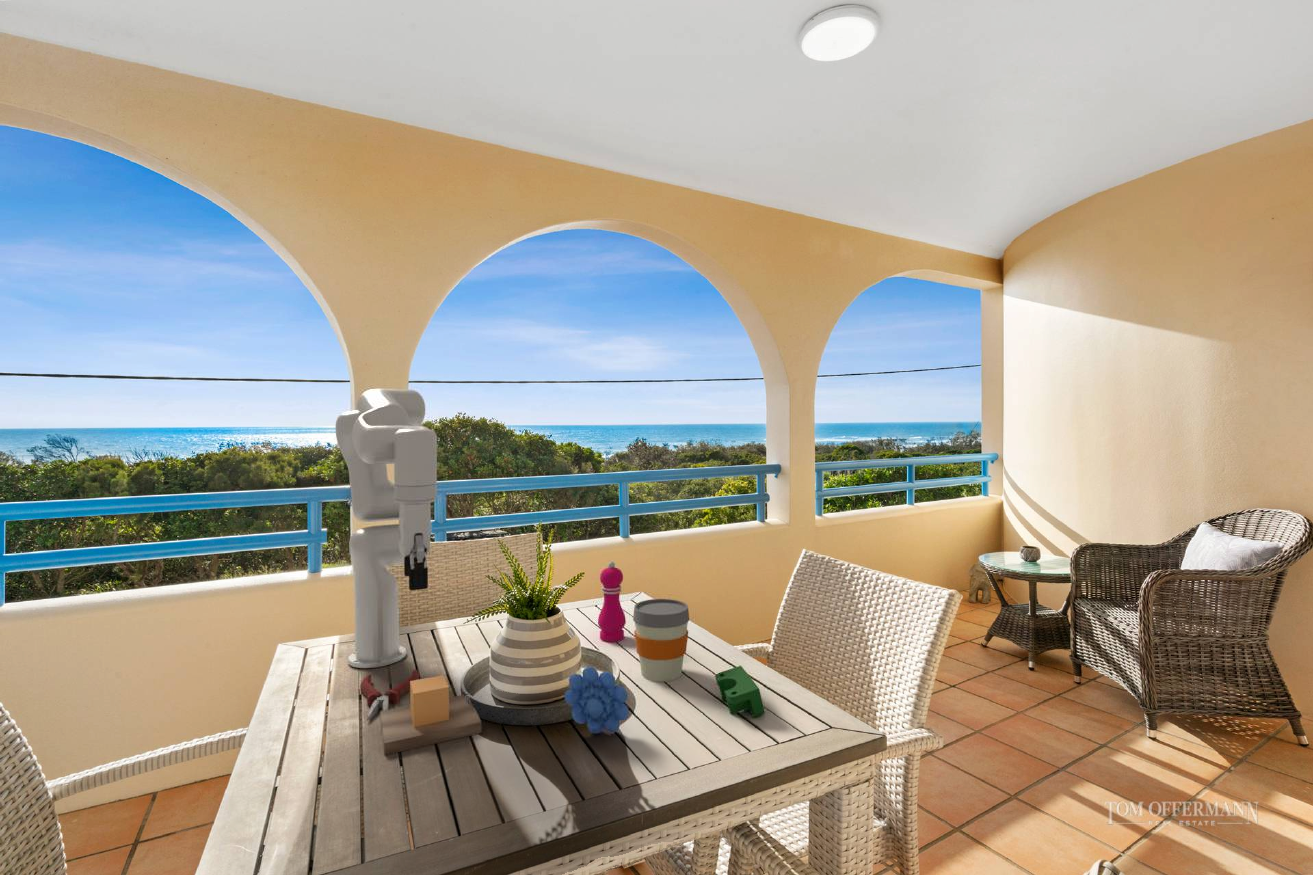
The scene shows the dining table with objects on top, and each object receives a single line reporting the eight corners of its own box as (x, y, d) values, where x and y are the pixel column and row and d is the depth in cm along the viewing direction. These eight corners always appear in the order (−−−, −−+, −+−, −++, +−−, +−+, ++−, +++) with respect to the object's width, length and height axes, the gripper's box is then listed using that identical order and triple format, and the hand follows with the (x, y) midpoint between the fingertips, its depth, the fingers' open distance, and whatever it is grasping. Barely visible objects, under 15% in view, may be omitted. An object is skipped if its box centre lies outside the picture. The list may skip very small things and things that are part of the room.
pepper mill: (601, 632, 163) (601, 558, 163) (628, 633, 162) (627, 558, 162) (595, 642, 156) (594, 564, 156) (622, 643, 155) (622, 564, 155)
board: (380, 721, 115) (380, 687, 114) (468, 703, 122) (468, 671, 122) (384, 754, 103) (383, 716, 103) (481, 732, 110) (481, 697, 110)
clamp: (726, 720, 124) (712, 674, 127) (754, 710, 125) (739, 665, 128) (737, 724, 112) (721, 674, 115) (767, 714, 113) (750, 664, 116)
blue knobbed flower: (559, 744, 106) (559, 676, 106) (567, 725, 113) (566, 661, 112) (626, 746, 105) (626, 677, 105) (630, 727, 112) (630, 662, 112)
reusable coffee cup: (690, 663, 142) (690, 599, 142) (688, 686, 130) (688, 615, 129) (637, 661, 143) (636, 597, 143) (629, 683, 131) (629, 614, 131)
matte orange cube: (410, 712, 114) (410, 680, 114) (444, 706, 117) (443, 674, 116) (413, 727, 108) (413, 693, 108) (449, 719, 111) (448, 686, 111)
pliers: (342, 728, 113) (342, 714, 113) (364, 684, 132) (364, 672, 132) (408, 720, 116) (408, 707, 116) (420, 678, 135) (420, 667, 135)
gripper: (391, 488, 122) (391, 572, 123) (397, 501, 107) (398, 597, 108) (430, 486, 126) (430, 568, 127) (443, 499, 110) (442, 592, 111)
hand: (415, 581), depth 117 cm, fingers open, 9 cm apart
